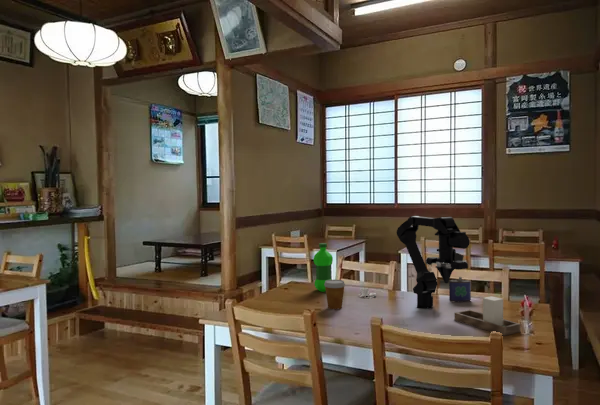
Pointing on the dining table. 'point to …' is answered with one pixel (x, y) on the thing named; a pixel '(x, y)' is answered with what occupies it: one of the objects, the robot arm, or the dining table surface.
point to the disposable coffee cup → (334, 293)
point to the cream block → (493, 310)
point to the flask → (459, 290)
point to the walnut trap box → (477, 321)
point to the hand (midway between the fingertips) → (446, 283)
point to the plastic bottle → (322, 267)
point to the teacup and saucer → (367, 292)
